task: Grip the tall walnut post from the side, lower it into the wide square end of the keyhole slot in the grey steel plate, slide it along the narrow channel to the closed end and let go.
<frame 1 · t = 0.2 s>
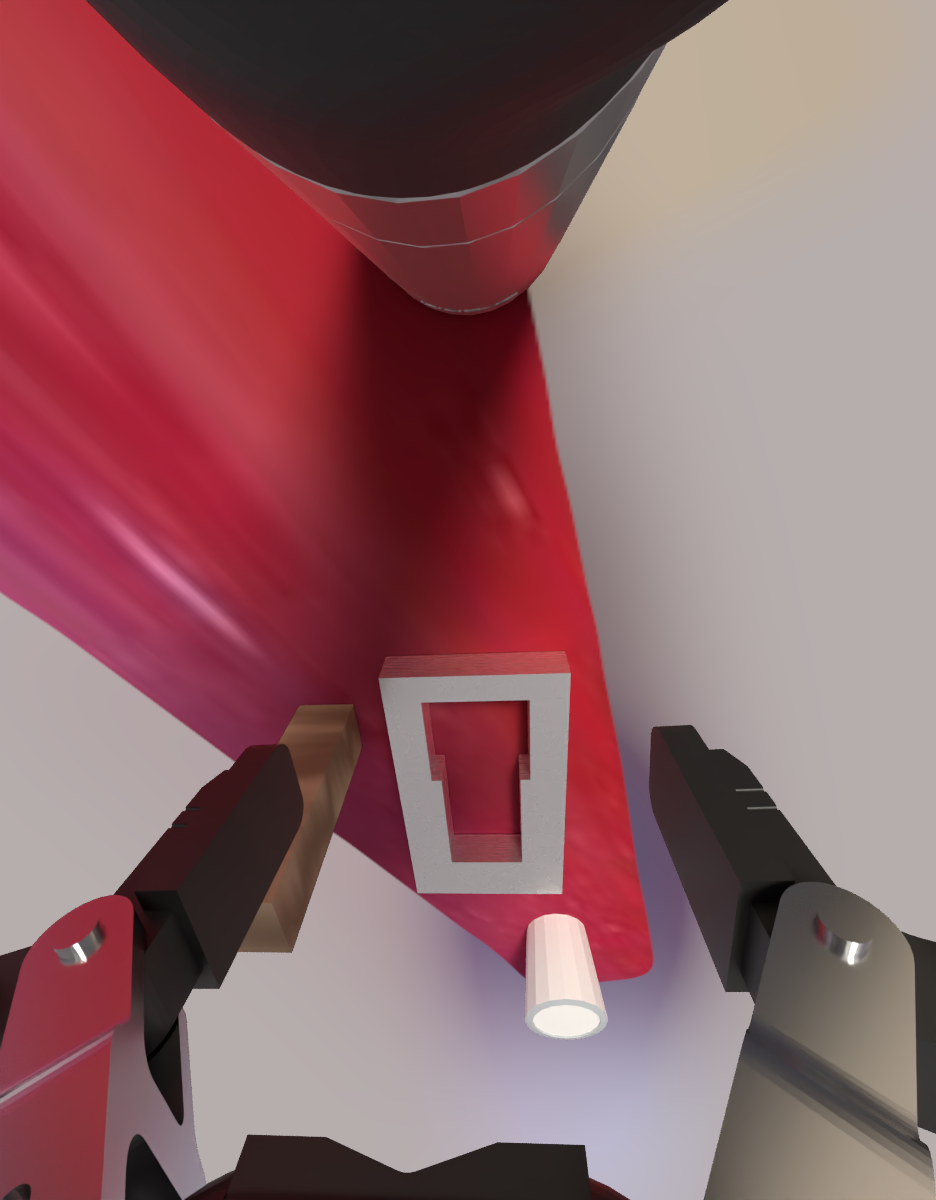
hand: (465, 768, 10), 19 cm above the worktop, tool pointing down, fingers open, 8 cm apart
keyhole plate: (482, 773, 36), on the worktop
walnut post: (331, 726, 35), on the worktop
white tapered cup: (555, 928, 45), on the worktop
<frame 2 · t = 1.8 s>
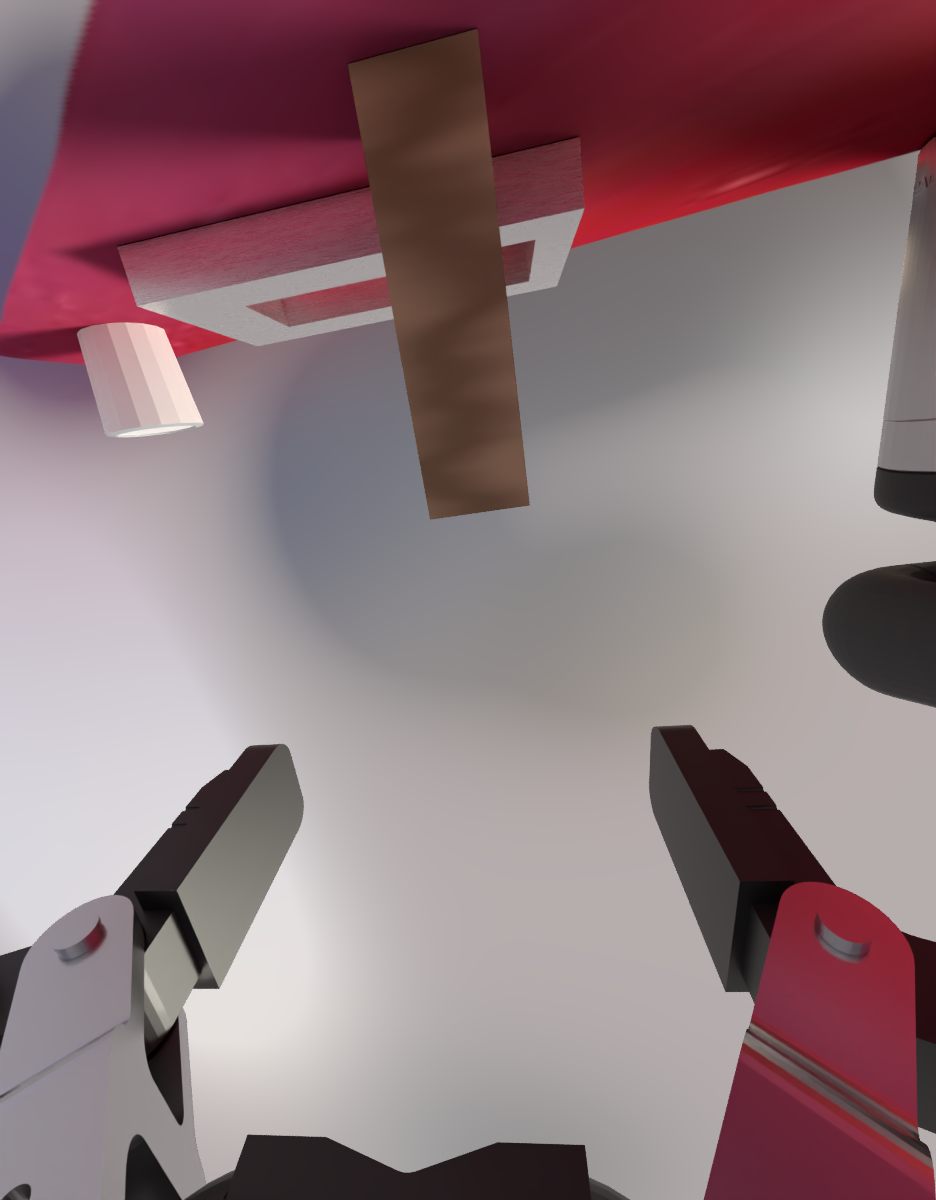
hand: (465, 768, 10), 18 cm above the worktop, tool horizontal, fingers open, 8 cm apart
keyhole plate: (369, 244, 27), on the worktop
walnut post: (422, 92, 16), on the worktop
white tapered cup: (121, 330, 35), on the worktop
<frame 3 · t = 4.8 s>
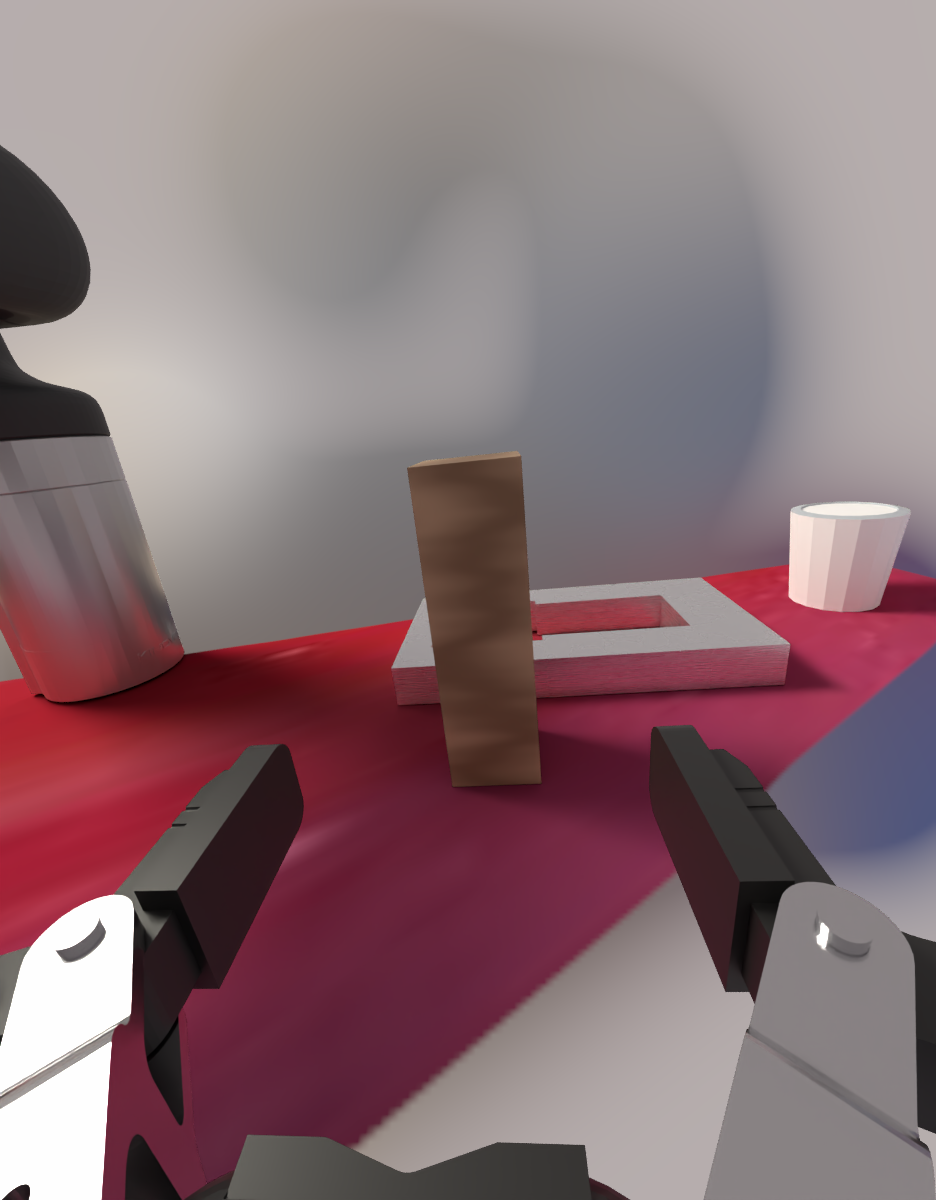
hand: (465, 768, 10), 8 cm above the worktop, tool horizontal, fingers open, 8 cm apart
keyhole plate: (569, 649, 33), on the worktop
walnut post: (496, 756, 23), on the worktop
white tapered cup: (831, 600, 36), on the worktop
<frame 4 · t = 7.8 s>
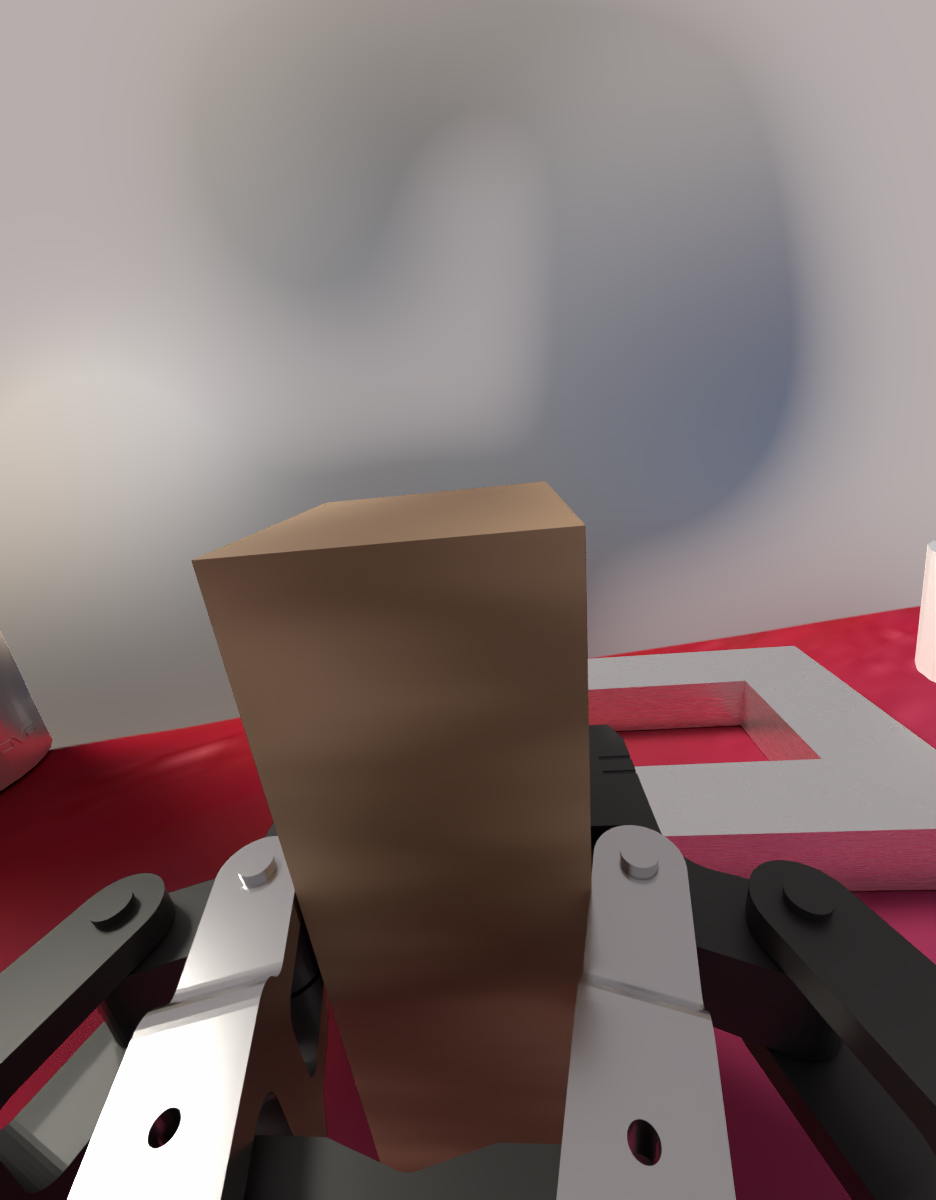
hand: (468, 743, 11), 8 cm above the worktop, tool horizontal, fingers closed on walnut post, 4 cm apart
keyhole plate: (608, 769, 21), on the worktop
walnut post: (496, 1092, 11), on the worktop, touching gripper
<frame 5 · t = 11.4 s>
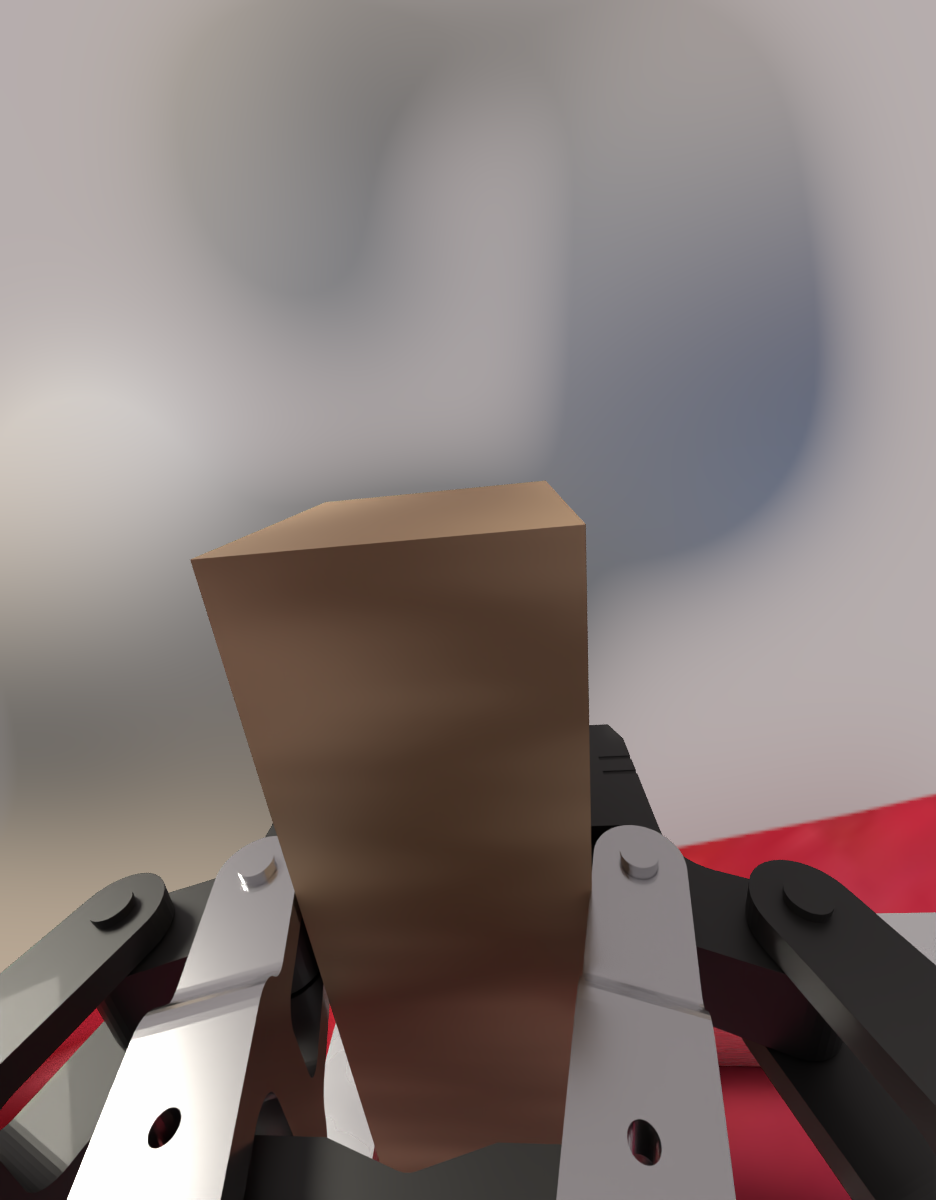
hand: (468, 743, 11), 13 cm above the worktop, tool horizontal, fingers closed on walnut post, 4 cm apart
keyhole plate: (710, 1196, 13), on the worktop
walnut post: (496, 1092, 11), point 5 cm above the worktop, touching gripper
when the fingers open (8 cm above the worktop, at t = 15.2 s): walnut post stays where it is, resting in keyhole plate.
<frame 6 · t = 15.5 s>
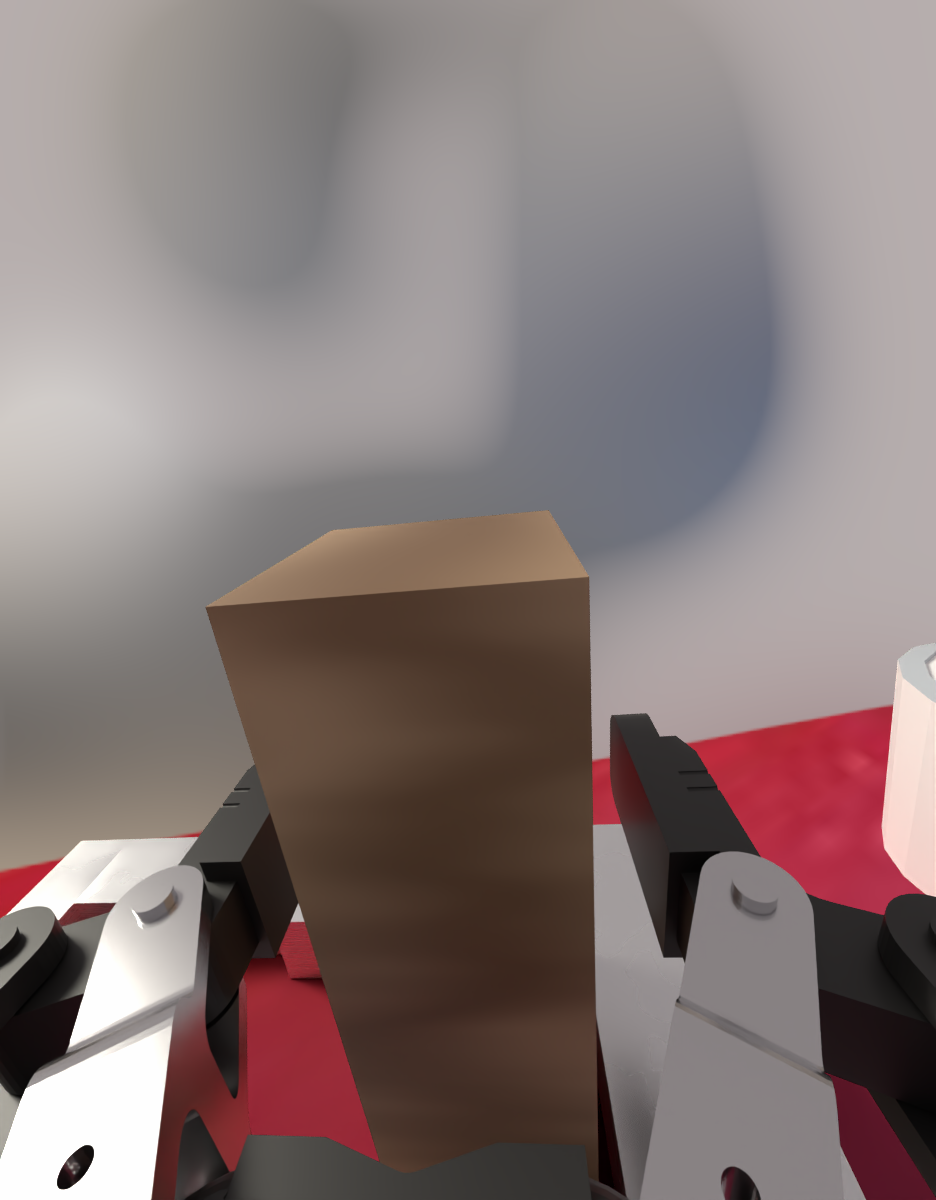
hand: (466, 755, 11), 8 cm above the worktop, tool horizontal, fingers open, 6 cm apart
keyhole plate: (319, 1100, 12), on the worktop
walnut post: (499, 1106, 11), resting in keyhole plate
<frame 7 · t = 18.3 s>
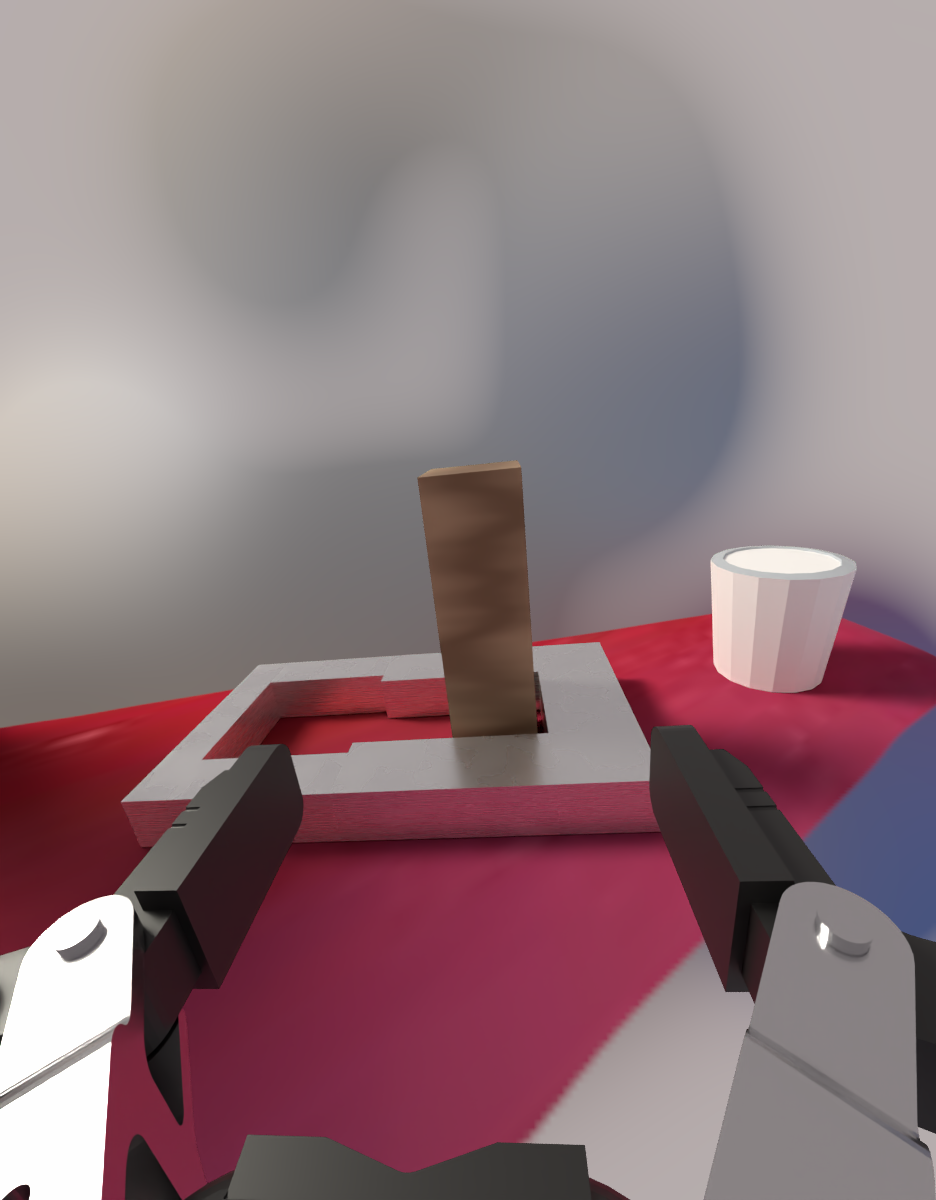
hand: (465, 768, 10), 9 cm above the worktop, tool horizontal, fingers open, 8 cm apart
keyhole plate: (412, 746, 25), on the worktop
walnut post: (498, 743, 24), resting in keyhole plate
white tapered cup: (765, 671, 29), on the worktop
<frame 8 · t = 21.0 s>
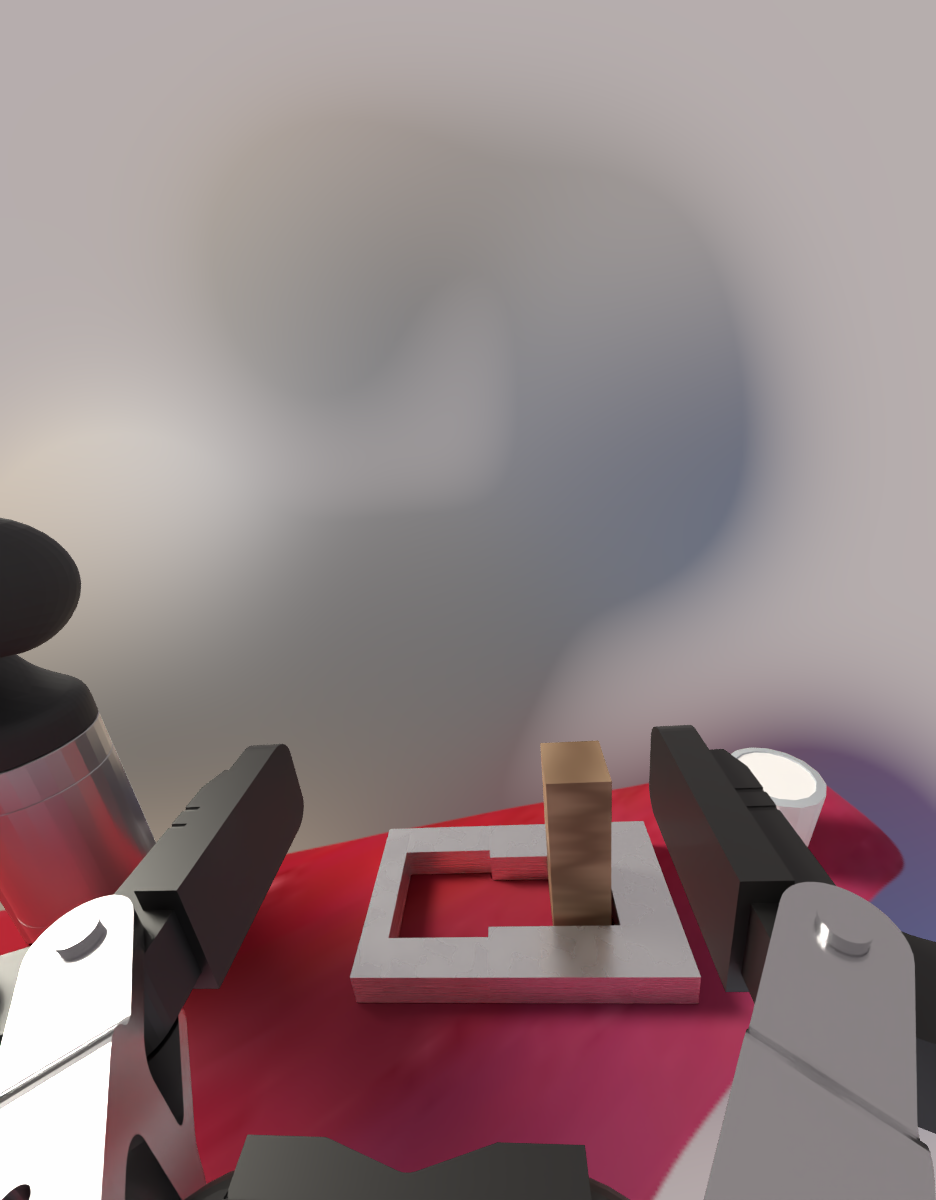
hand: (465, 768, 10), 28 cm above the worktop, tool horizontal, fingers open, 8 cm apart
keyhole plate: (518, 912, 36), on the worktop
walnut post: (578, 912, 35), resting in keyhole plate
white tapered cup: (763, 842, 40), on the worktop
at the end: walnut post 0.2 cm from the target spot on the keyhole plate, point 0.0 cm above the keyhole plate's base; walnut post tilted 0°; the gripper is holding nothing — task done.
